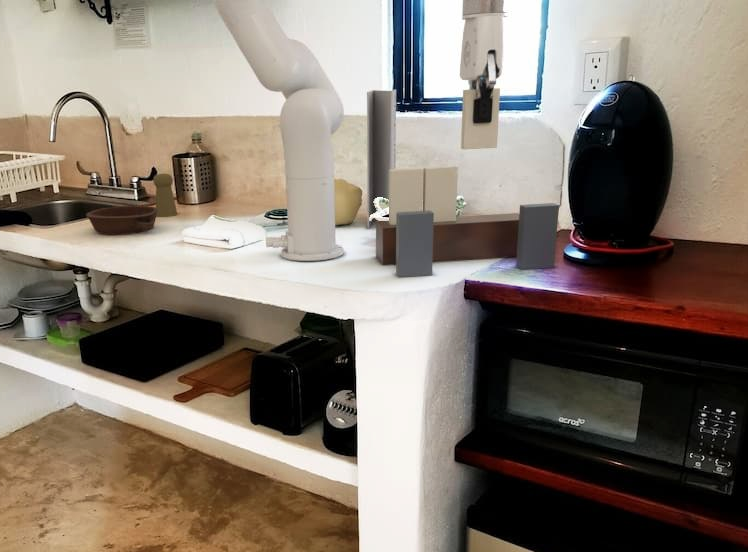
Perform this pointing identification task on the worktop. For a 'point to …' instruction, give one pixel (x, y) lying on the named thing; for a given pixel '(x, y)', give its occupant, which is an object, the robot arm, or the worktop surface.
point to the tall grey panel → (380, 144)
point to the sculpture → (346, 201)
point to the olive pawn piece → (164, 195)
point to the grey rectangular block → (537, 235)
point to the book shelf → (459, 238)
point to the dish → (123, 219)
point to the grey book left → (414, 243)
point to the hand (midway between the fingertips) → (479, 121)
